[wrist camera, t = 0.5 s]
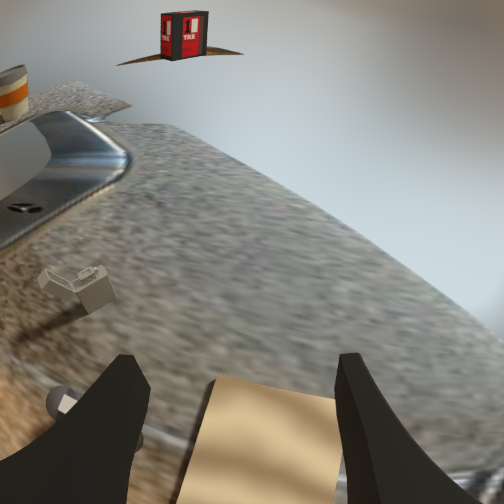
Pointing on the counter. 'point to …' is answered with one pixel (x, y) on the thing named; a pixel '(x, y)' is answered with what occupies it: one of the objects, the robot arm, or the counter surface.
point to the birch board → (263, 447)
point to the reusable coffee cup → (13, 92)
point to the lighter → (81, 287)
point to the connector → (68, 405)
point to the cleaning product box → (183, 34)
